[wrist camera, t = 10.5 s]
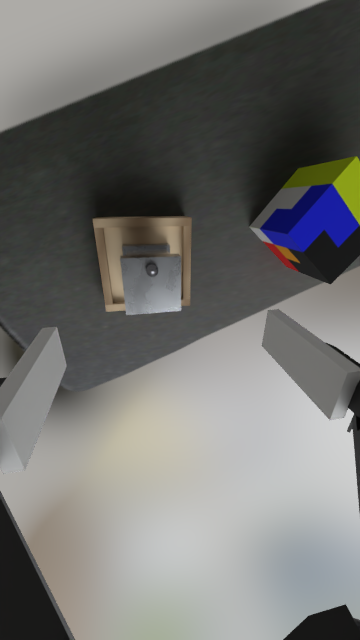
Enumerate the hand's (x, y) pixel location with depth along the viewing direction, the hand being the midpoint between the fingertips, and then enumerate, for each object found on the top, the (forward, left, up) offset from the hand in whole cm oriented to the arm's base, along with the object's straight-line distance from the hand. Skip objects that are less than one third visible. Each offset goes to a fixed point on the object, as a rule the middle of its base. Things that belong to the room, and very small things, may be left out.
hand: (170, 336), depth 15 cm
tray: (0, 0, -23) cm, 23 cm away
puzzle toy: (-23, -5, -23) cm, 33 cm away
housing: (0, 0, -20) cm, 20 cm away
